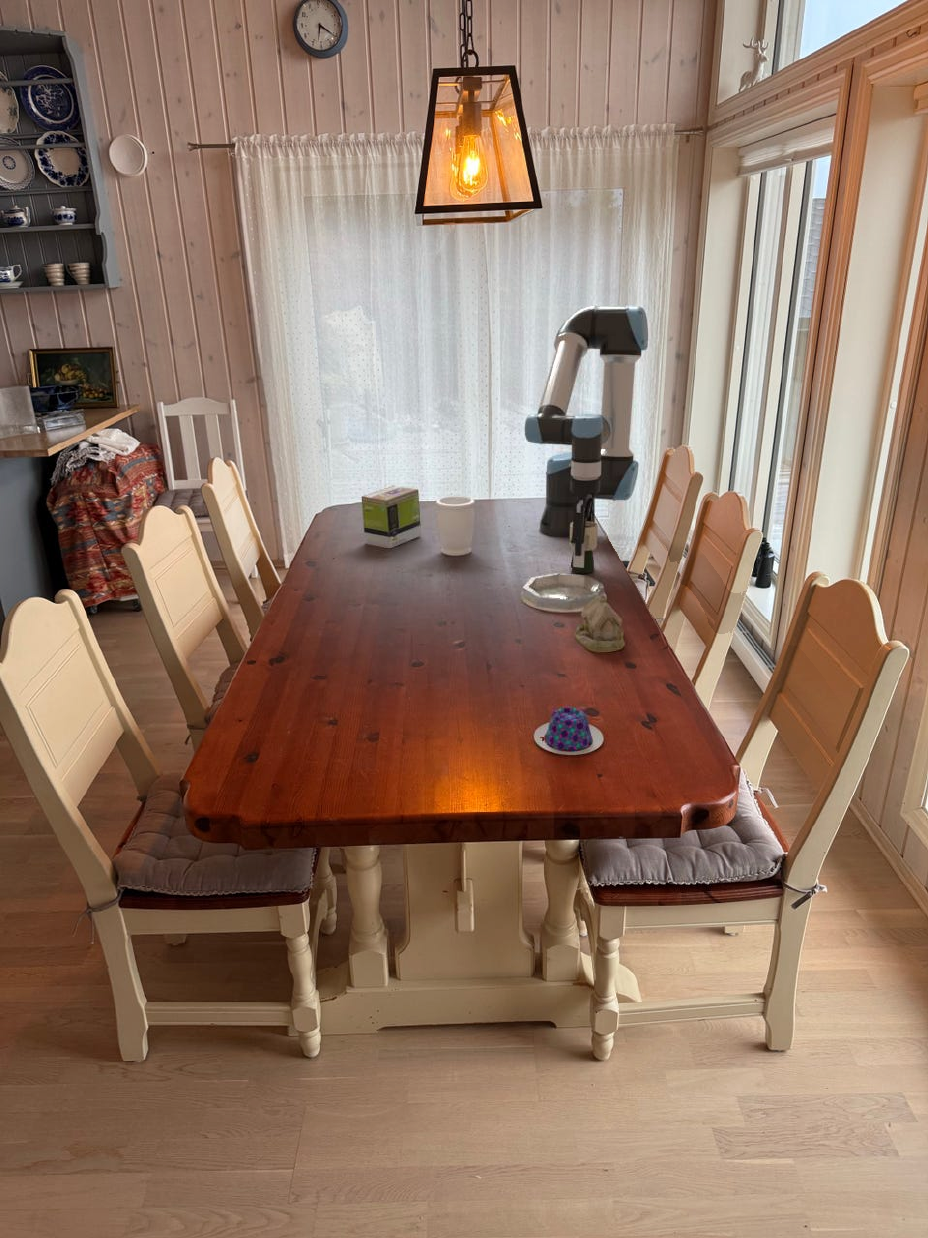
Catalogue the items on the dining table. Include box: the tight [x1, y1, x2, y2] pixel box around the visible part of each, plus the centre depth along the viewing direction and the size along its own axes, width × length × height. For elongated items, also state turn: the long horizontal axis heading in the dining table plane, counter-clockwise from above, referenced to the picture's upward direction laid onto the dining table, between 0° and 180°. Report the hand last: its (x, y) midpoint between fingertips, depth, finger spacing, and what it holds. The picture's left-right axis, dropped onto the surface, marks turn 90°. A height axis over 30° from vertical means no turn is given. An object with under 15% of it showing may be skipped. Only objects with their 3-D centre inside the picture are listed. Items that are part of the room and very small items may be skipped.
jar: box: [436, 496, 475, 557], centre depth 250 cm, size 11×10×15 cm
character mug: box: [569, 521, 598, 574], centre depth 233 cm, size 11×7×13 cm, turn 12°
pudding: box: [533, 706, 604, 756], centre depth 153 cm, size 12×12×5 cm
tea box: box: [361, 485, 422, 549], centre depth 262 cm, size 15×10×15 cm
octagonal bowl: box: [520, 572, 608, 614], centre depth 218 cm, size 21×21×3 cm
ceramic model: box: [574, 596, 626, 653], centre depth 192 cm, size 14×11×10 cm
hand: (582, 561), depth 234 cm, fingers closed on character mug, 9 cm apart
